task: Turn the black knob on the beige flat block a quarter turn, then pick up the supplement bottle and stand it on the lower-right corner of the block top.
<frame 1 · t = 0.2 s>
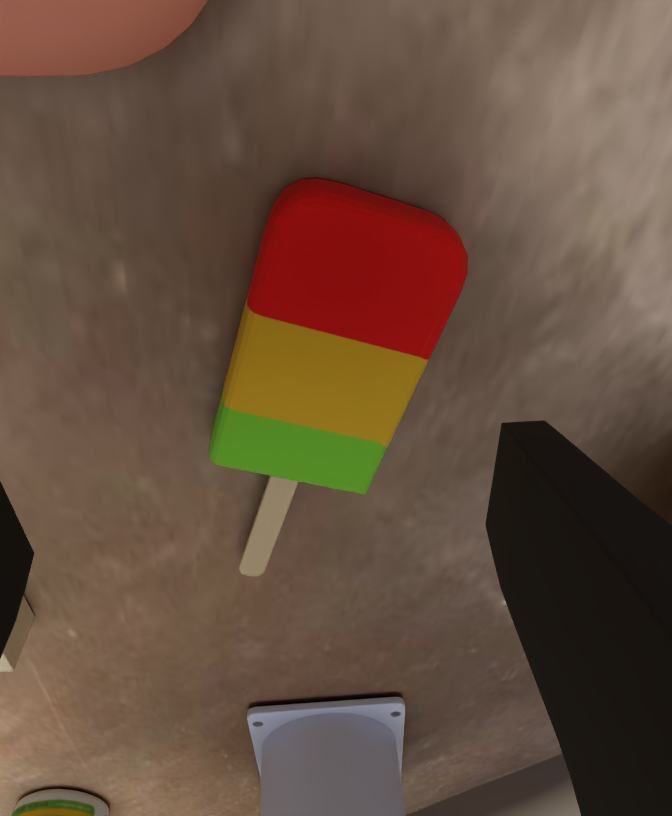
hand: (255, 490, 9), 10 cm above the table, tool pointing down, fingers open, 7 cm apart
popsicle: (302, 406, 21), on the table
supplement bottle: (65, 802, 37), on the table
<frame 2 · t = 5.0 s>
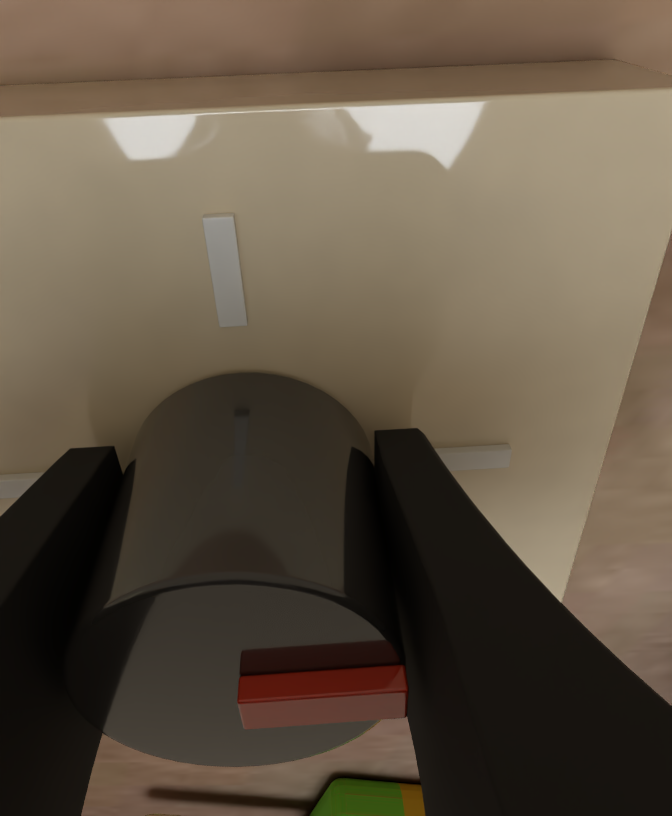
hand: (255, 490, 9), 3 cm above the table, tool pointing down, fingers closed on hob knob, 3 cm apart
beige flat block: (189, 426, 12), on the table
popsicle: (354, 804, 23), on the table
hob knob: (247, 569, 8), point 4 cm above the table, hinge at 0.1°, touching gripper
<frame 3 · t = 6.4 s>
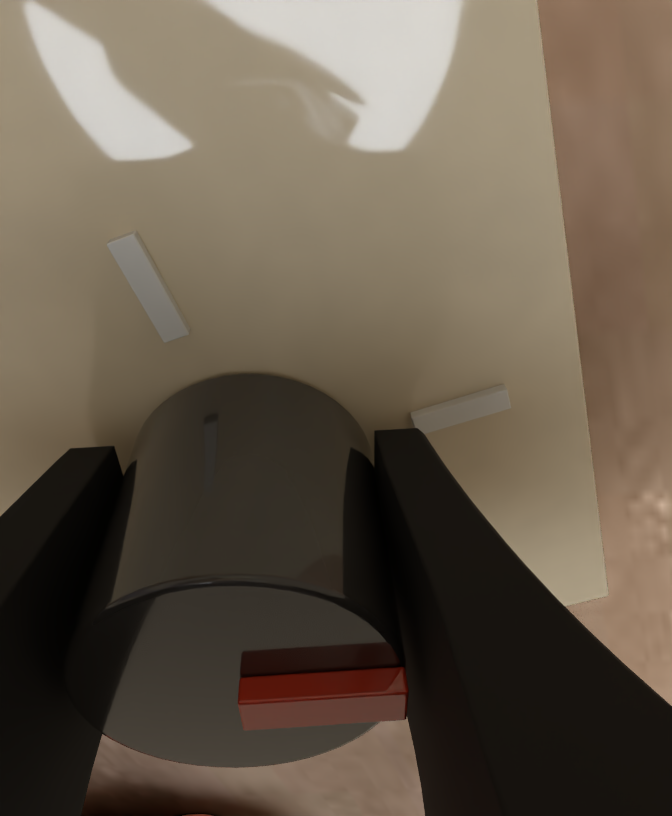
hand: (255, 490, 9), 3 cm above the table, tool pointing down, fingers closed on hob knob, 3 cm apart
beige flat block: (175, 329, 11), on the table
hob knob: (247, 570, 8), point 4 cm above the table, hinge at 72.3°, touching gripper
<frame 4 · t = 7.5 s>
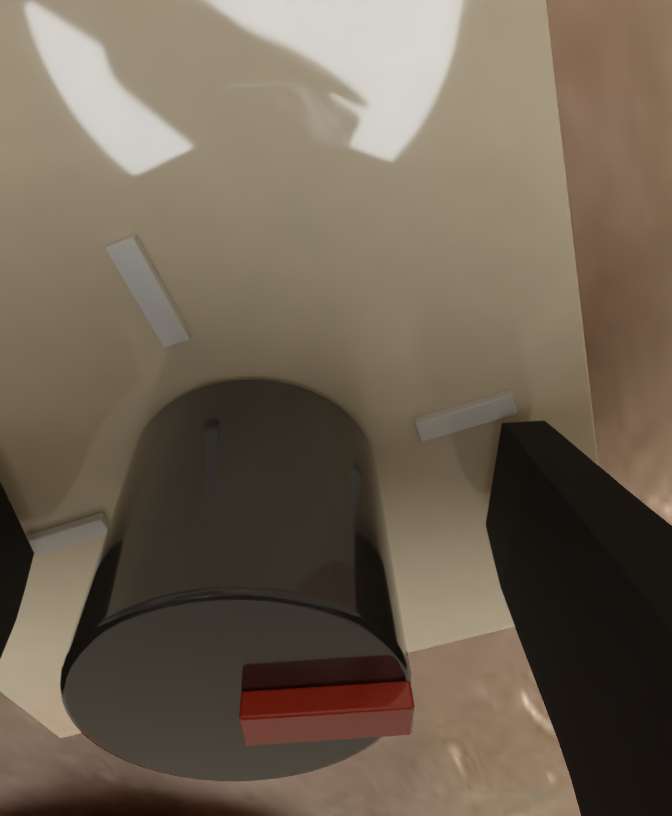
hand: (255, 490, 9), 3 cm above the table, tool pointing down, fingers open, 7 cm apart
beige flat block: (175, 333, 11), on the table
hob knob: (248, 579, 8), point 4 cm above the table, hinge at 72.3°
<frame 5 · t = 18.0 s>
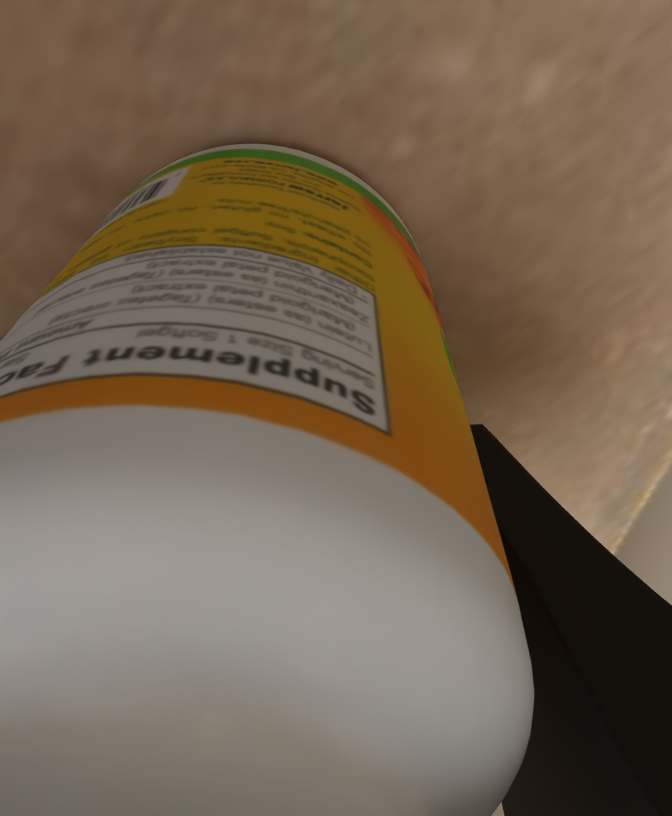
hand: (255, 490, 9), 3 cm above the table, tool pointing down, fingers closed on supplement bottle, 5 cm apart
supplement bottle: (267, 300, 10), on the table, touching gripper
when the fingers open (5 cm above the table, at t = 22.6 s): supplement bottle stays where it is, resting on beige flat block.
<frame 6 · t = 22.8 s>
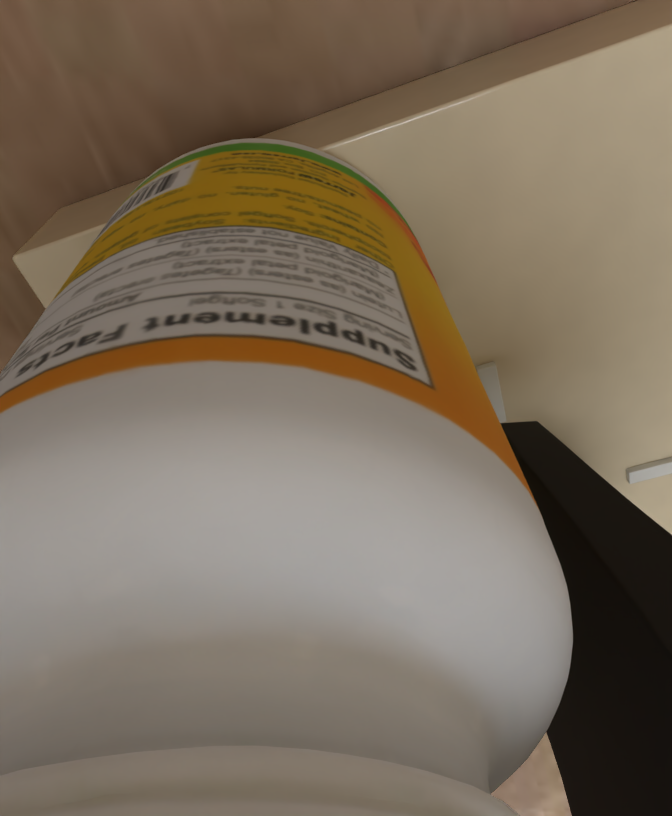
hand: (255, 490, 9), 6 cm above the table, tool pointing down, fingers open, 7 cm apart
beige flat block: (434, 400, 15), on the table
supplement bottle: (267, 293, 11), point 2 cm above the table, touching beige flat block
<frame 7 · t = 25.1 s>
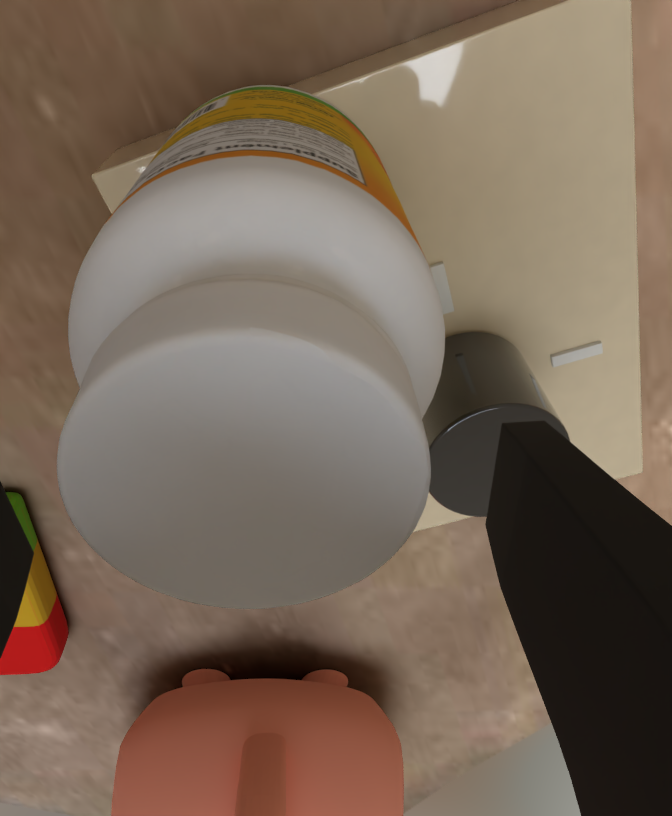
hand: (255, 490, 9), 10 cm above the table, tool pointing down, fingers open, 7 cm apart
beige flat block: (405, 311, 19), on the table
pink rounded body: (263, 717, 33), on the table
hob knob: (480, 425, 16), point 4 cm above the table, hinge at 72.3°
supplement bottle: (274, 206, 15), point 2 cm above the table, touching beige flat block
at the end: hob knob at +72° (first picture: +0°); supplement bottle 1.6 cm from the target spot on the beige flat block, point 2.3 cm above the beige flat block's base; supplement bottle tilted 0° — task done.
